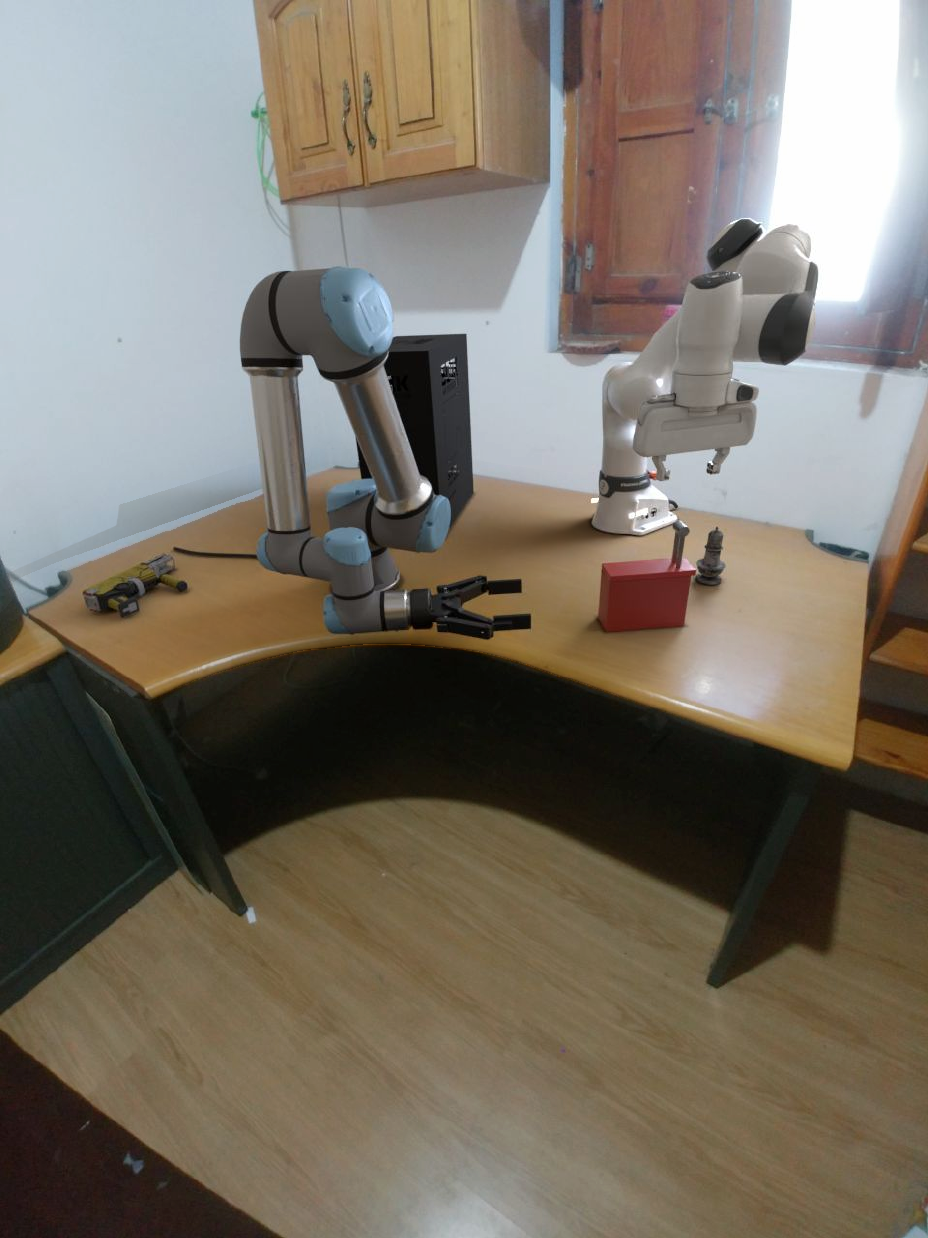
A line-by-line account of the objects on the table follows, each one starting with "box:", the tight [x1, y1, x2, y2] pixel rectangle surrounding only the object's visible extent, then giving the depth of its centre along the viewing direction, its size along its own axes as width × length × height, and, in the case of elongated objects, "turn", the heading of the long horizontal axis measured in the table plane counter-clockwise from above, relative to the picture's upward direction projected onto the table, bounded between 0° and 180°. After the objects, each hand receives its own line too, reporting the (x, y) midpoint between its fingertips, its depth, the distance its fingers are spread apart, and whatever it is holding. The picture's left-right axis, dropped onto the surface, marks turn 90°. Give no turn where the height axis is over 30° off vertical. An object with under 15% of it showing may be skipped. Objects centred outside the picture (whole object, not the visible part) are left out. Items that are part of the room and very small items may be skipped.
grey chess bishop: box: [695, 526, 727, 586], centre depth 126 cm, size 6×6×12 cm
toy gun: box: [81, 552, 188, 619], centre depth 136 cm, size 5×24×15 cm
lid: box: [601, 519, 697, 582], centre depth 108 cm, size 16×6×9 cm, turn 94°
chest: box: [597, 569, 692, 633], centre depth 113 cm, size 15×6×10 cm, turn 94°
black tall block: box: [354, 333, 475, 530], centre depth 163 cm, size 38×20×45 cm, turn 167°
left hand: (526, 602), depth 110 cm, fingers open, 13 cm apart
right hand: (687, 476), depth 102 cm, fingers open, 8 cm apart
